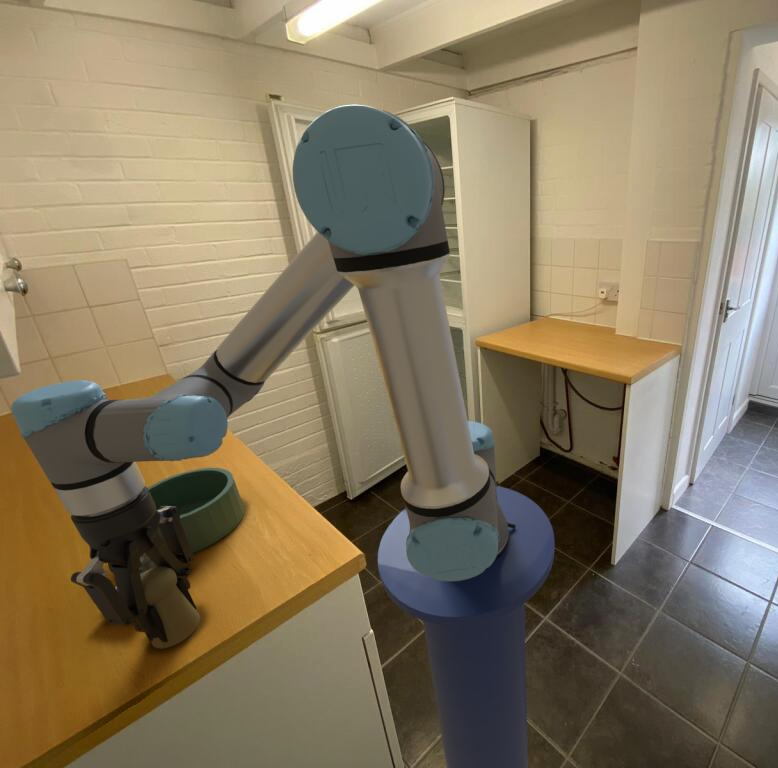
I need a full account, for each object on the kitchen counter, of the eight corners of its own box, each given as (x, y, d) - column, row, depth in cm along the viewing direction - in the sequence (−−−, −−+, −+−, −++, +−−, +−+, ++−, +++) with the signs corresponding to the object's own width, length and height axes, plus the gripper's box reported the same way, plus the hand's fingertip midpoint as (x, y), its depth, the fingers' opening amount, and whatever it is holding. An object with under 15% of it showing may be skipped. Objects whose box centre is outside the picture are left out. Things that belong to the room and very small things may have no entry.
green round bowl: (262, 499, 91) (252, 469, 87) (201, 562, 75) (186, 527, 72) (190, 496, 92) (177, 466, 89) (115, 556, 77) (96, 522, 74)
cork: (160, 618, 65) (133, 566, 60) (205, 606, 67) (182, 554, 62) (143, 654, 60) (112, 600, 55) (193, 640, 61) (166, 586, 57)
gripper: (143, 460, 61) (195, 576, 71) (3, 548, 46) (94, 681, 55) (189, 461, 61) (236, 578, 70) (63, 552, 45) (145, 686, 54)
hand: (173, 623), depth 63 cm, fingers closed on cork, 4 cm apart
